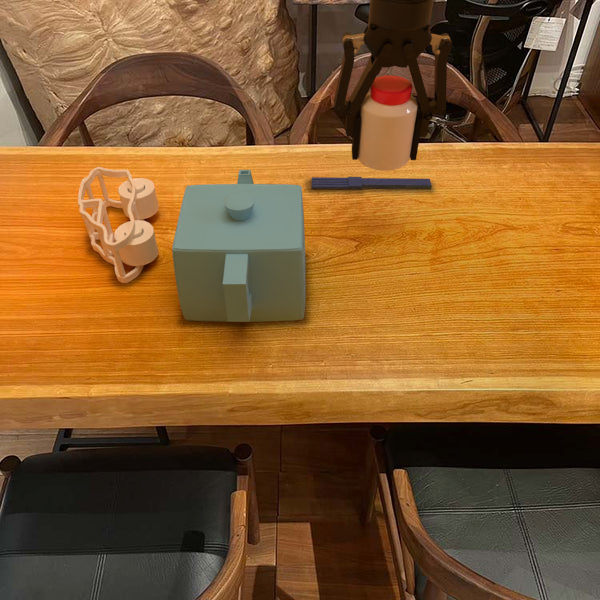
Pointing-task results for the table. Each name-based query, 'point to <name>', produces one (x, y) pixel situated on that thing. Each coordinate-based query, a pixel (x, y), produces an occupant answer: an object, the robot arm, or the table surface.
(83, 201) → the wheeled car silhouette
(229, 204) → the container
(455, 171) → the table surface
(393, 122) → the pill bottle
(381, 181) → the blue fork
